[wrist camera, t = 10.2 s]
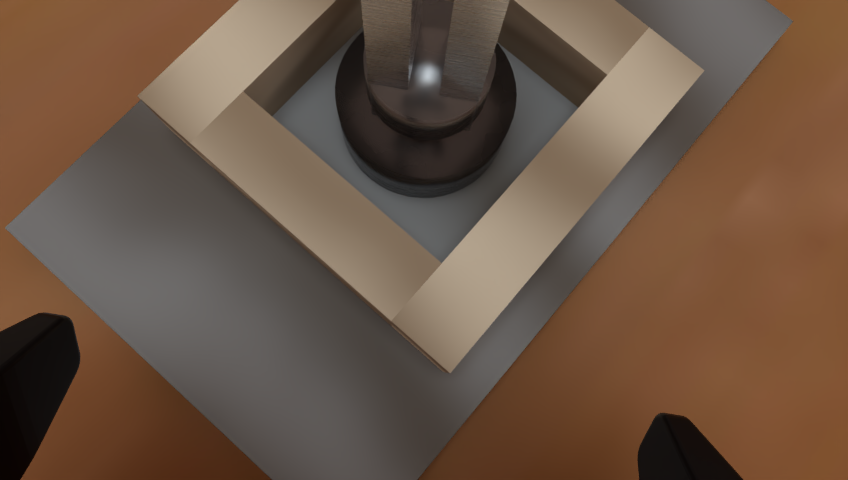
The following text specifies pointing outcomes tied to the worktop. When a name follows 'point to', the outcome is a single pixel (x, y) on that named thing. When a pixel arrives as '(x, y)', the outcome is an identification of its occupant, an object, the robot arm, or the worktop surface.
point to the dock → (304, 318)
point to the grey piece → (426, 93)
